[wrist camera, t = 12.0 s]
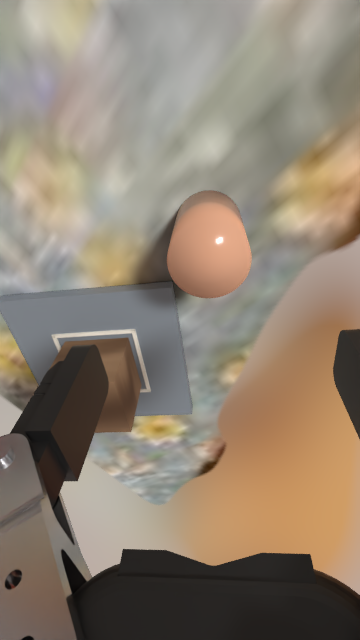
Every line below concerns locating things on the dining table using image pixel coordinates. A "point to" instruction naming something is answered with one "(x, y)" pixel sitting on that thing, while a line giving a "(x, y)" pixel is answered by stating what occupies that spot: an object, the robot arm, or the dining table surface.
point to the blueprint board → (108, 335)
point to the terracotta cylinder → (209, 246)
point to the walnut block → (114, 382)
